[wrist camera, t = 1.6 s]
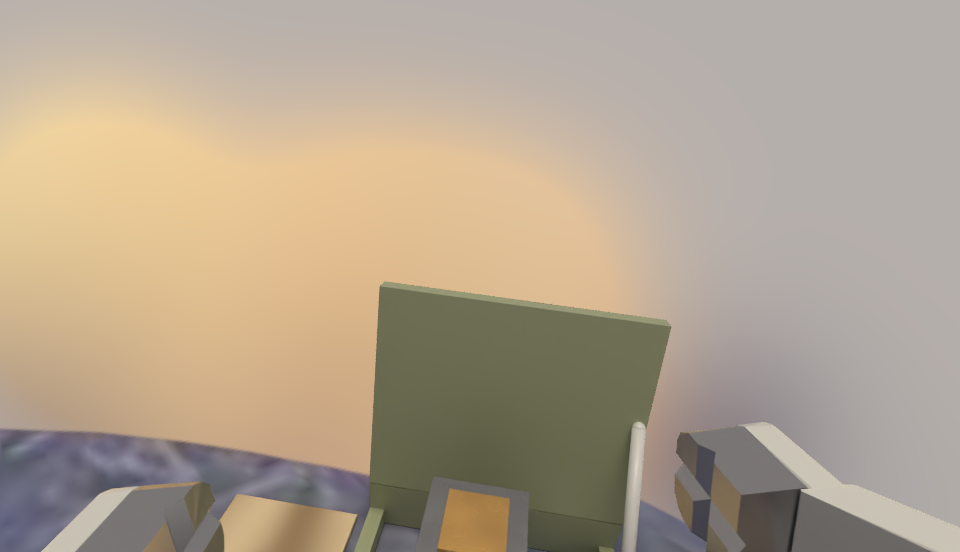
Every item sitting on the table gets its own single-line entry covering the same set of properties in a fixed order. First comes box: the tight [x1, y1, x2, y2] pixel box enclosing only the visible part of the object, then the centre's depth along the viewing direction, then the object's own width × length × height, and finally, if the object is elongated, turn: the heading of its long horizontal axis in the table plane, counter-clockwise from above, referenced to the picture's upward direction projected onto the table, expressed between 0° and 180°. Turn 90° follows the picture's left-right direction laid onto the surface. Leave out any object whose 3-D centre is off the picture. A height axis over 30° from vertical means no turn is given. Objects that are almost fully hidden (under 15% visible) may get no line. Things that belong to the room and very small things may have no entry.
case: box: [354, 282, 671, 552], centre depth 24 cm, size 17×18×18 cm
